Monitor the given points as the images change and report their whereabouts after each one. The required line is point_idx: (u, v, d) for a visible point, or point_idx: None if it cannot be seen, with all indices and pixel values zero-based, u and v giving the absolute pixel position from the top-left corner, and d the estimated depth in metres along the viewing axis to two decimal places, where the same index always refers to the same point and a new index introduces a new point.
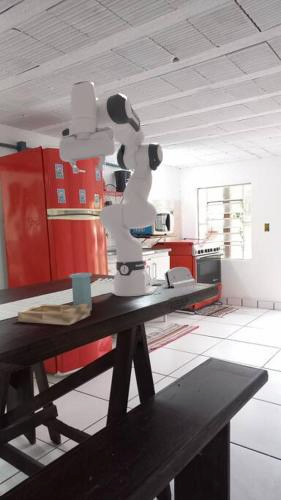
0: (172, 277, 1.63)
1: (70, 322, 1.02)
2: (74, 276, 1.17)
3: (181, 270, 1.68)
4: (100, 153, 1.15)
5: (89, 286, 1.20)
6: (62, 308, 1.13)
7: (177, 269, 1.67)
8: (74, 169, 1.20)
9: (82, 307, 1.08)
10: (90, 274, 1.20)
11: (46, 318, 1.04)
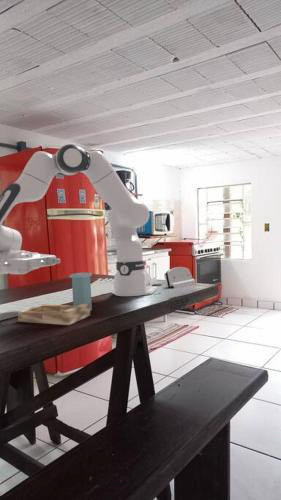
0: (172, 277, 1.63)
1: (70, 322, 1.02)
2: (74, 276, 1.17)
3: (181, 270, 1.68)
4: (28, 268, 1.19)
5: (89, 286, 1.20)
6: (62, 308, 1.13)
7: (177, 269, 1.66)
8: None
9: (82, 307, 1.08)
10: (90, 274, 1.20)
11: (46, 318, 1.04)
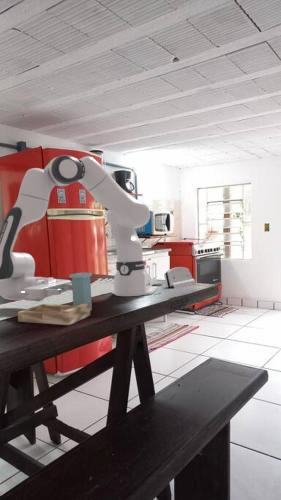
0: (172, 277, 1.62)
1: (70, 322, 1.02)
2: (74, 276, 1.17)
3: (181, 270, 1.68)
4: (45, 297, 1.18)
5: (89, 286, 1.20)
6: (62, 308, 1.13)
7: (176, 269, 1.66)
8: None
9: (82, 307, 1.08)
10: (90, 274, 1.20)
11: (46, 318, 1.04)
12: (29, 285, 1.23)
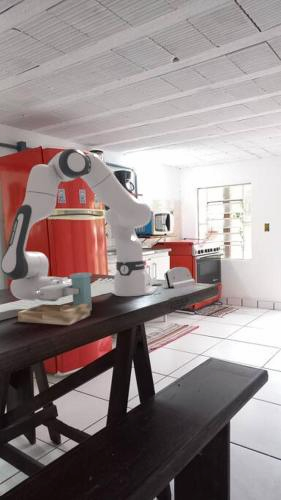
0: (172, 277, 1.62)
1: (70, 322, 1.02)
2: (74, 276, 1.17)
3: (181, 270, 1.68)
4: (61, 297, 1.15)
5: (89, 286, 1.20)
6: (62, 308, 1.13)
7: (176, 269, 1.66)
8: None
9: (82, 307, 1.08)
10: (90, 274, 1.20)
11: (46, 318, 1.04)
12: (44, 285, 1.20)
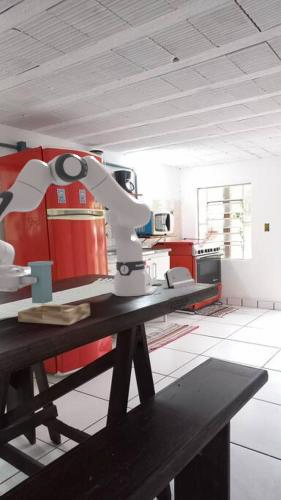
0: (172, 277, 1.62)
1: (70, 322, 1.02)
2: (33, 264, 1.09)
3: (180, 270, 1.68)
4: (17, 286, 1.07)
5: (49, 275, 1.12)
6: (62, 308, 1.13)
7: (176, 269, 1.66)
8: None
9: (82, 307, 1.08)
10: (51, 262, 1.12)
11: (46, 318, 1.04)
12: (2, 273, 1.13)
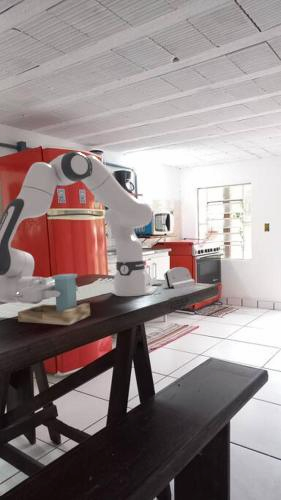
0: (172, 277, 1.62)
1: (70, 322, 1.02)
2: (57, 277, 1.06)
3: (180, 270, 1.67)
4: (42, 299, 1.04)
5: (74, 288, 1.09)
6: None
7: (176, 270, 1.65)
8: None
9: (82, 307, 1.08)
10: (75, 275, 1.09)
11: (46, 318, 1.04)
12: (25, 286, 1.10)
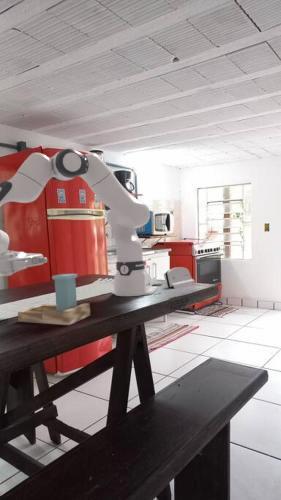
0: (172, 277, 1.62)
1: (70, 322, 1.02)
2: (57, 277, 1.06)
3: (180, 270, 1.67)
4: (11, 269, 1.11)
5: (74, 288, 1.09)
6: None
7: (176, 270, 1.65)
8: (43, 262, 1.19)
9: (82, 307, 1.08)
10: (75, 275, 1.09)
11: (46, 318, 1.04)
12: None
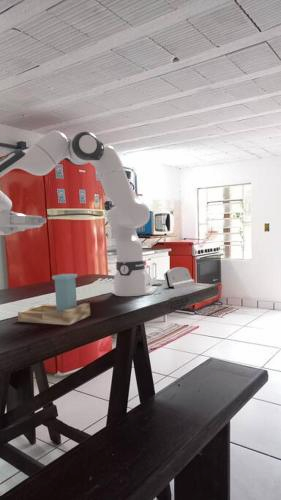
0: (172, 277, 1.61)
1: (70, 322, 1.02)
2: (57, 277, 1.06)
3: (180, 270, 1.67)
4: (10, 225, 1.11)
5: (74, 288, 1.09)
6: None
7: (176, 270, 1.65)
8: (42, 222, 1.20)
9: (82, 307, 1.08)
10: (75, 275, 1.09)
11: (46, 318, 1.04)
12: None
